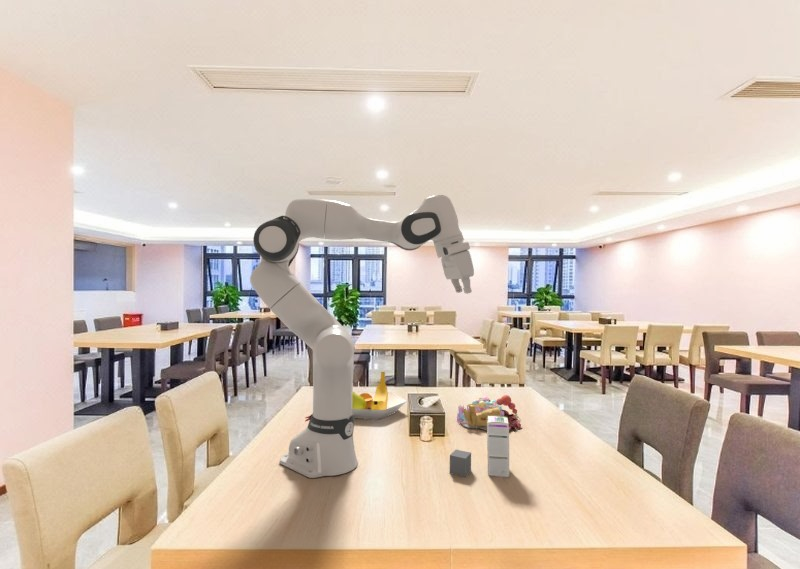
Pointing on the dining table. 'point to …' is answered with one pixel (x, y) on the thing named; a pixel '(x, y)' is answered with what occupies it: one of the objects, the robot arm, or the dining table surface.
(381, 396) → the fruit
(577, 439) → the dining table surface
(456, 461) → the block
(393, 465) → the dining table surface
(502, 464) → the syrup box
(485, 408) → the food platter
